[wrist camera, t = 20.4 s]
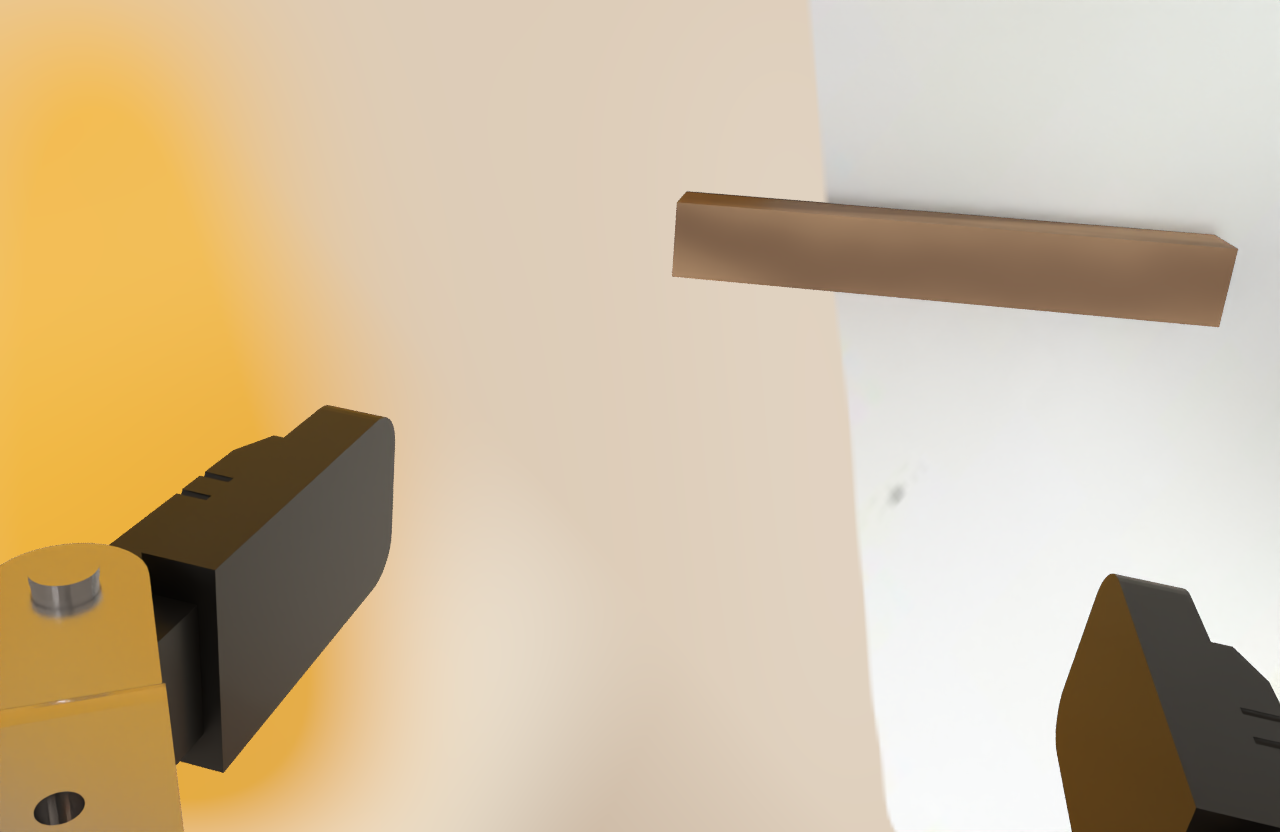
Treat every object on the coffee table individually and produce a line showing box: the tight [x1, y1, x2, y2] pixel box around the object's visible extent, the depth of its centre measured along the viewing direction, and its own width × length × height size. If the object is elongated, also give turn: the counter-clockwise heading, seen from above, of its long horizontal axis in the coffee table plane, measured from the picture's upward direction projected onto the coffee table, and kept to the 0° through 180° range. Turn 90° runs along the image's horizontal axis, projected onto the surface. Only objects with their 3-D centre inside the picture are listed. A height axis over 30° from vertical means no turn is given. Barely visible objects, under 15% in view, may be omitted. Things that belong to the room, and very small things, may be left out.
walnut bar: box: [672, 191, 1238, 327], centre depth 45 cm, size 3×21×3 cm, turn 87°
